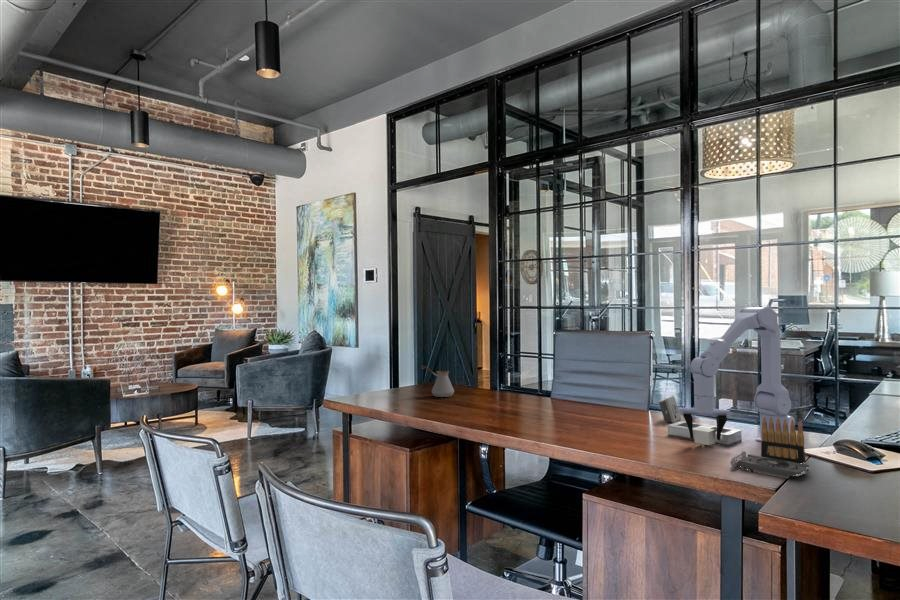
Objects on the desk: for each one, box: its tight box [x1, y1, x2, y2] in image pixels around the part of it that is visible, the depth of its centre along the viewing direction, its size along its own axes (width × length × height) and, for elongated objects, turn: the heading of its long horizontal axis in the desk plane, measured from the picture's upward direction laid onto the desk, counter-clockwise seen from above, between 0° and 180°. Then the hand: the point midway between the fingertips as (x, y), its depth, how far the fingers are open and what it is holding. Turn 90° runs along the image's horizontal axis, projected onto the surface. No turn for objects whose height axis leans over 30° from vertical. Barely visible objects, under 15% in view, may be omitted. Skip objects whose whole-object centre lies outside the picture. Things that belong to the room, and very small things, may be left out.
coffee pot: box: [421, 365, 455, 398], centre depth 276 cm, size 21×12×15 cm, turn 43°
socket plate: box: [667, 420, 743, 447], centre depth 181 cm, size 20×10×4 cm, turn 40°
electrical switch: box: [658, 395, 682, 424], centre depth 209 cm, size 9×5×9 cm, turn 141°
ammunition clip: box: [760, 417, 806, 463], centre depth 154 cm, size 11×2×12 cm, turn 50°
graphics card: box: [729, 450, 810, 480], centre depth 144 cm, size 17×4×12 cm
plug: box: [693, 427, 716, 448], centre depth 171 cm, size 4×5×5 cm
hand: (704, 438), depth 171 cm, fingers open, 7 cm apart
